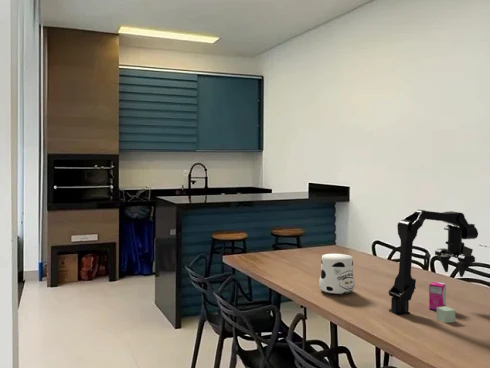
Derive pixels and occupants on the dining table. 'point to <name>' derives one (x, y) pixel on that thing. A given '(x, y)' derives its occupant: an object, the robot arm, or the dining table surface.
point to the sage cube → (445, 314)
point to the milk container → (337, 274)
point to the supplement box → (437, 295)
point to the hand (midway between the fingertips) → (453, 274)
